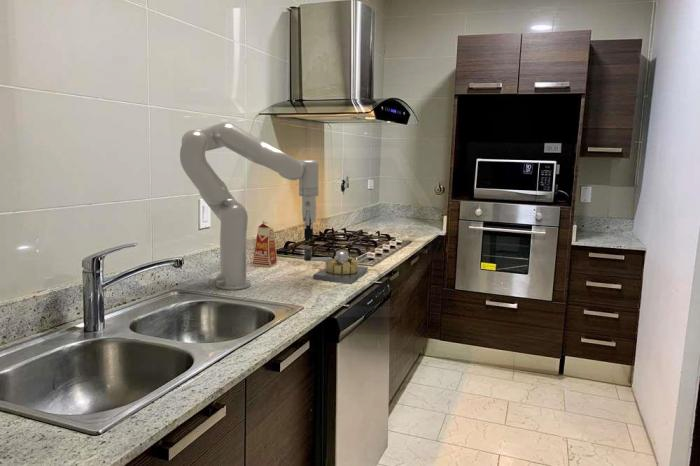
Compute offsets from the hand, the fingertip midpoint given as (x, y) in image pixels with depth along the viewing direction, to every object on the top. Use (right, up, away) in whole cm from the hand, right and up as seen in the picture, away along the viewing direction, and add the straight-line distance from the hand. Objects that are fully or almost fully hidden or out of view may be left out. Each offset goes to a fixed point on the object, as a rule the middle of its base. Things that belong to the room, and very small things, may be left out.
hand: (308, 238), depth 203 cm
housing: (+13, -16, +13) cm, 24 cm away
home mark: (+4, -14, +21) cm, 26 cm away
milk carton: (-22, -12, +27) cm, 37 cm away
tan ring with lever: (+8, -13, +11) cm, 19 cm away
